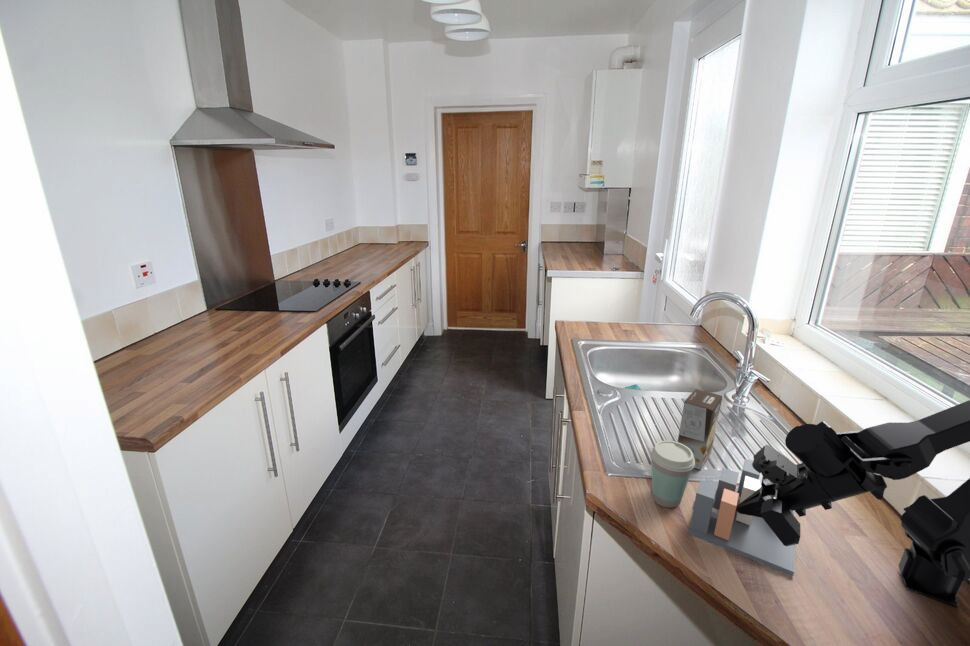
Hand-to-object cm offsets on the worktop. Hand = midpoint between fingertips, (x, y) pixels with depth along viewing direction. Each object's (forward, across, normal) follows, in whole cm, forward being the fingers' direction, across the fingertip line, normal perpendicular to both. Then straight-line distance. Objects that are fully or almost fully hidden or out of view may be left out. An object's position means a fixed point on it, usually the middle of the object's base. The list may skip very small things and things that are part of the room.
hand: (737, 509), depth 83 cm
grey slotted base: (+4, -6, +6) cm, 10 cm away
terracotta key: (+7, 0, +1) cm, 7 cm away
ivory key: (+5, -7, +4) cm, 9 cm away
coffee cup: (+14, -5, -4) cm, 16 cm away
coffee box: (+13, -24, -3) cm, 27 cm away
